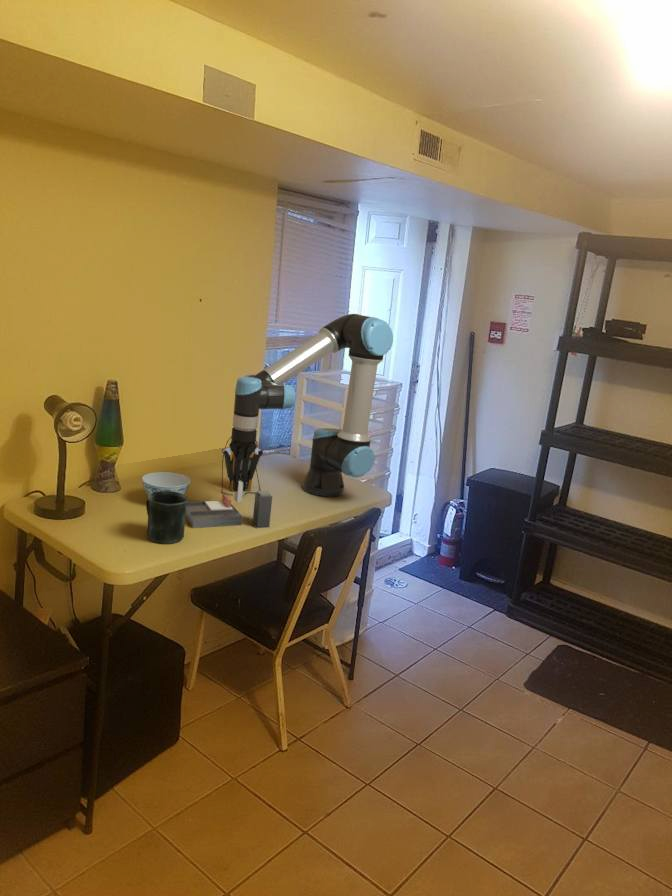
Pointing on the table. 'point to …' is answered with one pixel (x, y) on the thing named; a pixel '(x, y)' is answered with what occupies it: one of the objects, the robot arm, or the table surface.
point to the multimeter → (248, 484)
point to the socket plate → (211, 516)
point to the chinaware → (165, 482)
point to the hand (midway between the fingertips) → (237, 500)
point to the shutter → (220, 504)
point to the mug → (166, 516)
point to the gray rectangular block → (262, 509)
